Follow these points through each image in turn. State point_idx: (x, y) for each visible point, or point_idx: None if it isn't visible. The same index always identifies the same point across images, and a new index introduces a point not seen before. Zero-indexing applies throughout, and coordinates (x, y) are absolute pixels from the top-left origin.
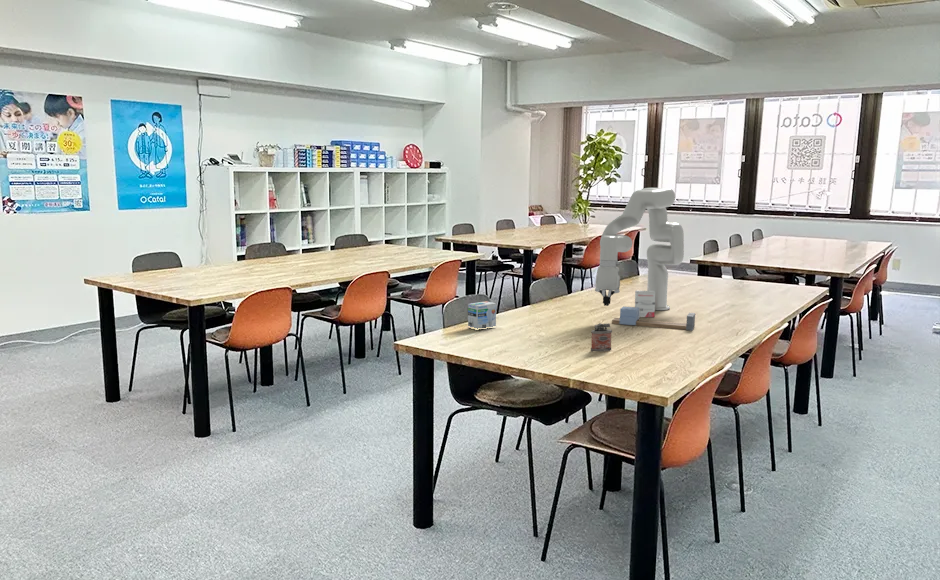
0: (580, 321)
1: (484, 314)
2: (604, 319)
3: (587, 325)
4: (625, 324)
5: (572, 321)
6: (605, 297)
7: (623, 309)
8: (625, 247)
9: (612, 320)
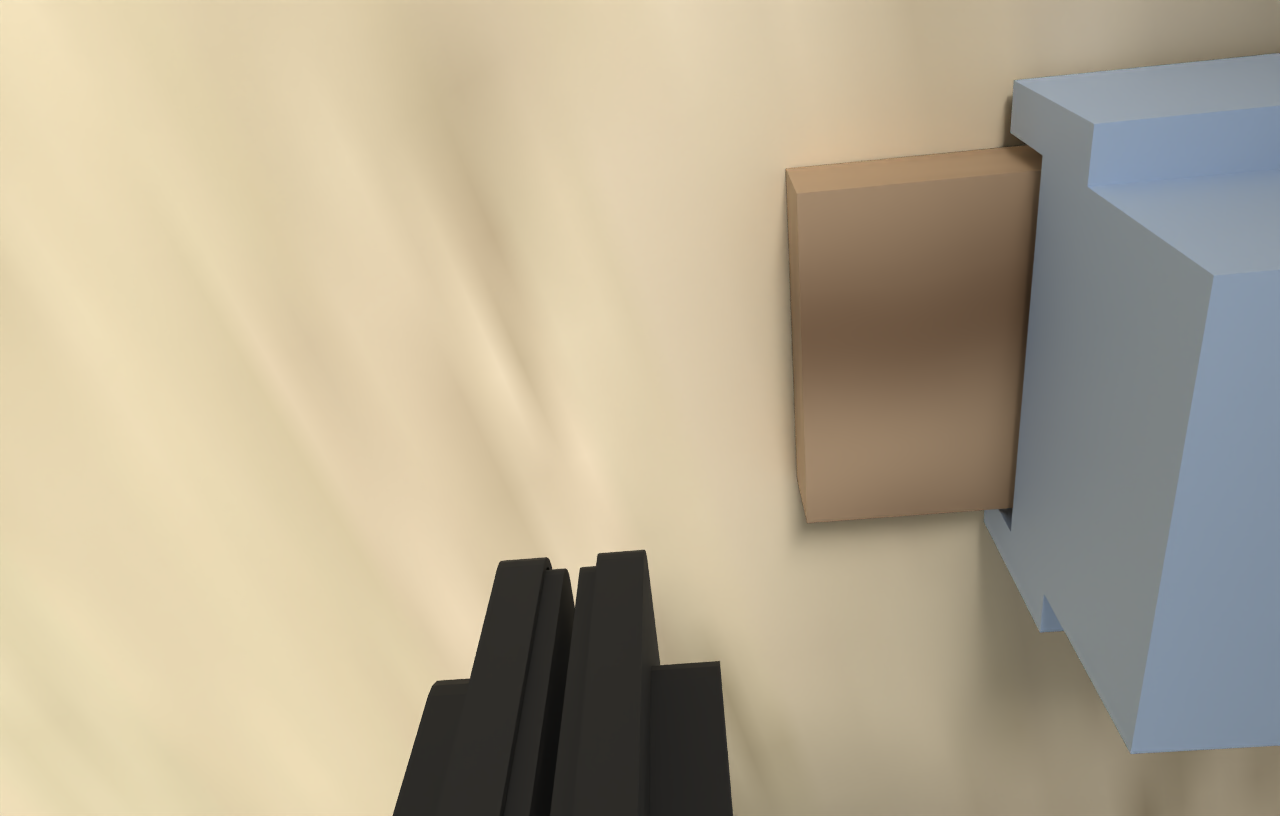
0: (135, 581)
1: None
2: (466, 92)
3: None
4: None
5: (15, 646)
6: None
7: (1233, 739)
8: None
9: (818, 518)
